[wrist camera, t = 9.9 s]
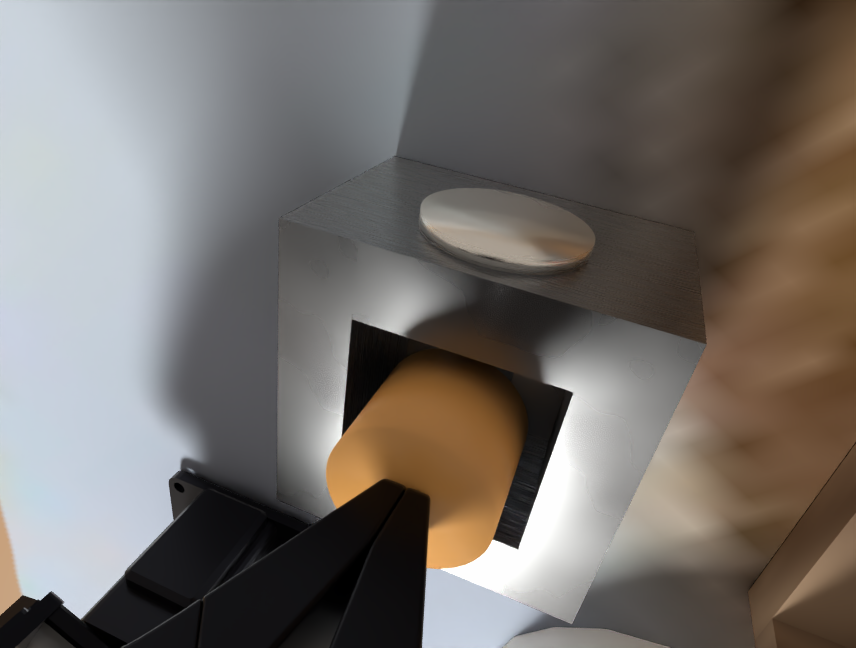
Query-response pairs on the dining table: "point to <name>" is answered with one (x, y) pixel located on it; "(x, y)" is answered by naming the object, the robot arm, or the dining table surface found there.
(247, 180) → the dining table surface
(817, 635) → the rail
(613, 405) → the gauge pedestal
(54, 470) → the dining table surface
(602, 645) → the teardrop
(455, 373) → the button
